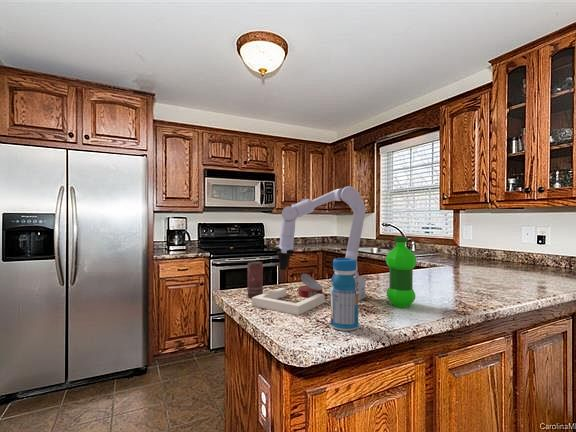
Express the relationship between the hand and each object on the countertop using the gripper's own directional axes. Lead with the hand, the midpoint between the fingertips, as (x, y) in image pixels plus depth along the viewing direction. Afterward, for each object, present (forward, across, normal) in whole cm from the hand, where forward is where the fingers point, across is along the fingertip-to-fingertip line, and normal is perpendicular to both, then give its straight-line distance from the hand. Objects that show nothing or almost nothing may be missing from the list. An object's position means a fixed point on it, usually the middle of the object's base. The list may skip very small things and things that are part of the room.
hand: (283, 268), depth 133 cm
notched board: (+10, +14, +5) cm, 18 cm away
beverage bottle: (+8, +37, +23) cm, 44 cm away
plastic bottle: (+6, +12, +45) cm, 47 cm away
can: (+12, +5, -10) cm, 16 cm away
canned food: (+10, 0, +12) cm, 16 cm away
